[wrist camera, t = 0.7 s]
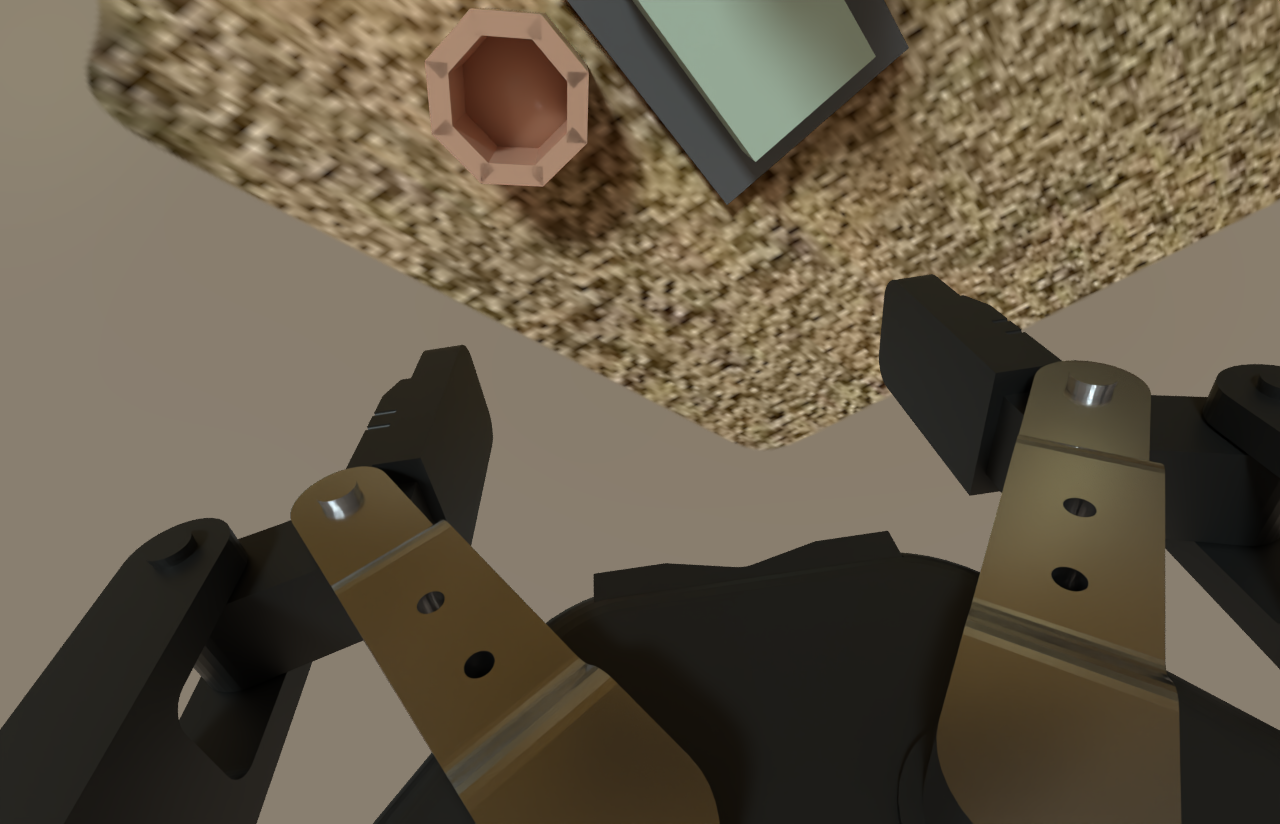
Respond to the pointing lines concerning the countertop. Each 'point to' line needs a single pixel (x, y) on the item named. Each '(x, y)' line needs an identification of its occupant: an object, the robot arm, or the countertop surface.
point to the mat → (687, 112)
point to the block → (761, 59)
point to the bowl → (508, 96)
